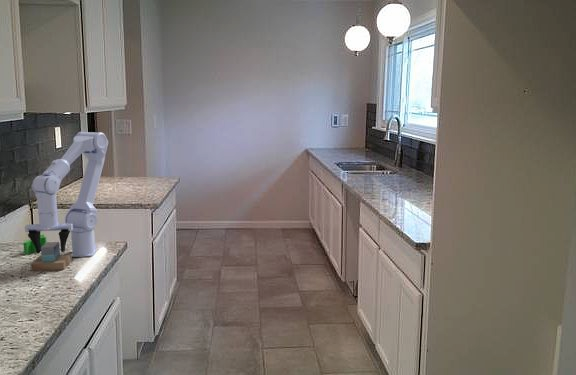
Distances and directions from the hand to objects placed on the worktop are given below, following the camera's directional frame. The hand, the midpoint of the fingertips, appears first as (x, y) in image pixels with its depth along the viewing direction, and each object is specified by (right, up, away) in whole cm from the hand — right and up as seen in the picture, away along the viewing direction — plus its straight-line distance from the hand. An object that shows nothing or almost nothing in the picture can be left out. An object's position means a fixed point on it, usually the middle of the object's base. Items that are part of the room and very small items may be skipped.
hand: (51, 251), depth 175 cm
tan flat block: (0, -5, +1) cm, 5 cm away
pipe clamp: (-13, -2, +18) cm, 23 cm away
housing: (0, -2, 0) cm, 2 cm away
